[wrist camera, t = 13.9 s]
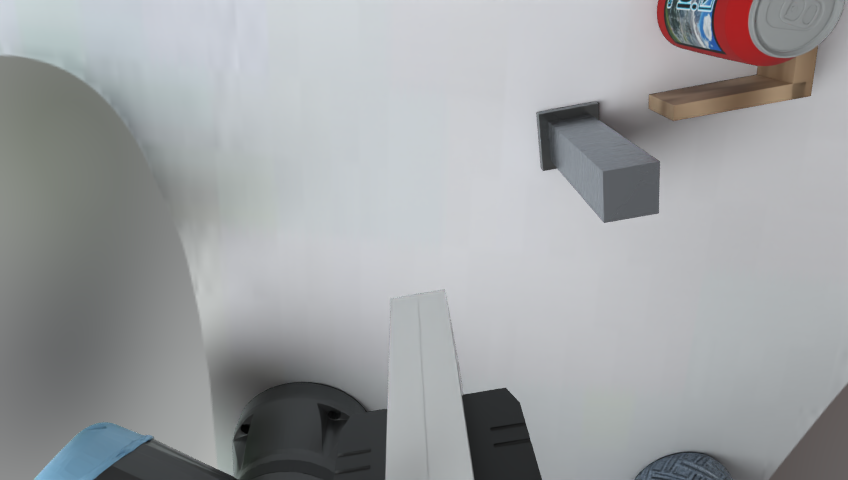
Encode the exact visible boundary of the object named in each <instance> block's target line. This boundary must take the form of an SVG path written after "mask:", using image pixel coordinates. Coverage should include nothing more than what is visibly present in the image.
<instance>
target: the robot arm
mask: <svg viewBox="0 0 848 480" xmlns="http://www.w3.org/2000/svg"><path fill="white" fill-rule="evenodd" d="M232 449H233V469H234V477H233V476H231V475H229V474H226V473H224V472H222V471H220V470H218V469H215V468H213V467H211V466H209V465H207V464H205V463H203V462H201V461H198V460H196V459H194V458H192V457H190V456H188V455H186V454H184V453H181V452H180V451H177V450H175V449H173V448H171V447H169V446H167V445H165V444H163V443H160V442H158V441H156V440H154V437H153V436H151V435H146V436H144V435H141V434H138V433H136V432H133V431H131V430H128V429H126V428H123V427H121V426H118V425H116V424H113V423H108V422H102V423H96V424H93V425H91V426H89V427H87V428H85V429H84V430H82V431H81V432H80V433H78V434H77V435H76V436H75V437H74V438H73V439H72V440H71V441H70V442H69V443H68V444H67V445H66V446H65V447H64V448H63V449H62V450H61V451H60V452H59V453H58V454H57V455H56V456H55V457H54V459H52V460H51V461H50V462H49V464H48V465H47V466H46V467H45V468H44V469H43V470H42V471H41V472H40V473H39V474H38V475H37V477H36V478H35V479H34V480H542V478H541V475H540V471H539V468H538V464H537V461H536V458H535V454H534V451H533V447H532V444H531V441H530V437H529V433H528V430H527V426H526V423H525V419H524V416H523V412H522V409H521V405H520V403H519V402H518V400H517V399H516V398H515V397H514V396H513V395H512V394H511V393H510V392H509V391H508V390H507V389H506V388H502V389H495V390H489V391H483V392H477V393H471V394H465V395H464V394H463V387H462V381H461V375H460V368H459V363H458V357H457V352H456V346H455V341H454V336H453V330H452V325H451V319H450V314H449V308H448V303H447V297H446V292H445V289H443V290H438V291H432V292H426V293H420V294H414V295H408V296H403V297H397V298H391V300H390V335H389V370H388V405H387V409H382V410H376V411H370V412H366V411H365V409H364V408H363V407H362V406H361V405H360V404H359V403H358V402H357V401H356V400H354V399H353V398H352V397H350V396H349V395H347V394H345V393H343V392H341V391H339V390H337V389H334V388H332V387H328V386H325V385H320V384H314V383H291V384H285V385H280V386H277V387H274V388H271V389H269V390H266V391H264V392H263V393H261V394H259V395H258V396H256V397H255V398H254V399H253V400H251V401H250V402H249V403H248V405H247V406H246V407H245V408H244V410H243V412H242V413H241V416H240V418H239V421H238V424H237V426H236V429H235V432H234V436H233V443H232Z"/></svg>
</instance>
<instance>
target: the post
mask: <svg viewBox="0 0 848 480" xmlns="http://www.w3.org/2000/svg"><path fill="white" fill-rule="evenodd" d="M536 114H537V127H538V139H539V151H540V163H541V169H542V170H543V171H545V170H551V169H556V168H557V169H558V170H559V171H560V172H561V173H562V175H563V176H564V177H565V178H566V179H567V180H568V182H569V183H570V184H571V185H572V186H573V187H574V188H575V190H576V191H577V192H578V193H579V194H580V195H581V197H582V198H583V199H584V200H585V201H586V202H587V204H588V205H589V206H590V207H591V208H592V209H593V211H594V212H595V213H596V214H597V215H598V216H599V218H600V219H601V220H602V221H603V222H604V223H606V222H612V221H618V220H623V219H629V218H635V217H640V216H646V215H652V214H657V213H659V176H660V161H659V160H657V159H656V158H654V157H653V156H651V155H650V154H648V153H647V152H645V151H644V150H642V149H641V148H639V147H638V146H636V145H635V144H634V143H632V142H631V141H629V140H628V139H626V138H625V137H623V136H622V135H620V134H619V133H617V132H616V131H614V130H613V129H611V128H610V127H608V126H607V125H605V124H604V123H602V122H601V121H600V120H599V104H598V103H597V102H589V103H584V104H578V105H573V106H568V107H562V108H557V109H551V110H546V111H540V112H536Z"/></svg>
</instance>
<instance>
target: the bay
mask: <svg viewBox="0 0 848 480" xmlns="http://www.w3.org/2000/svg"><path fill="white" fill-rule="evenodd" d="M817 50H818V46H817V47H815V48H814V49H812V50H811V51H809V52H807V53H805V54H802V55H800V56H797V57H795V58H793V59H791V60H789V61H786V62H784V63H781V64H777V65H773V66H758V68H757V75H753V76H747V77H742V78H736V79H731V80H725V81H720V82H715V83H709V84H704V85H698V86H693V87H687V88H682V89H677V90H671V91H666V92H660V93H655V94H649V109H650V110H652V111H654V112H656V113H658V114H660V115H662V116H664V117H666V118H668V119H670V120H672V121H676V120H682V119H687V118H693V117H698V116H704V115H709V114H715V113H720V112H726V111H731V110H737V109H742V108H748V107H753V106H759V105H764V104H770V103H775V102H781V101H786V100H792V99H797V98H803V97H808V96H811V91H812V84H813V77H814V70H815V63H816V57H817Z"/></svg>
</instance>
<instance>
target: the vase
mask: <svg viewBox="0 0 848 480" xmlns="http://www.w3.org/2000/svg"><path fill="white" fill-rule="evenodd" d="M635 480H733V478H732V477H731V475H730V474H729V472H728V471H727V470H726V468H725V467H724V466H723V465H722V464H720V463H719V462H718V461H717V460H715V459H714V458H712V457H710V456H708V455H704V454H700V453H679V454H674V455H670V456H667V457H664V458H662V459H659V460H657V461H655V462H654V463H652V464H650V465H649V466H648V467H646V468H645V469H644V470H643V471H642V472H641V473H640V474H639V475H638V476H637V477H636V479H635Z"/></svg>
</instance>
